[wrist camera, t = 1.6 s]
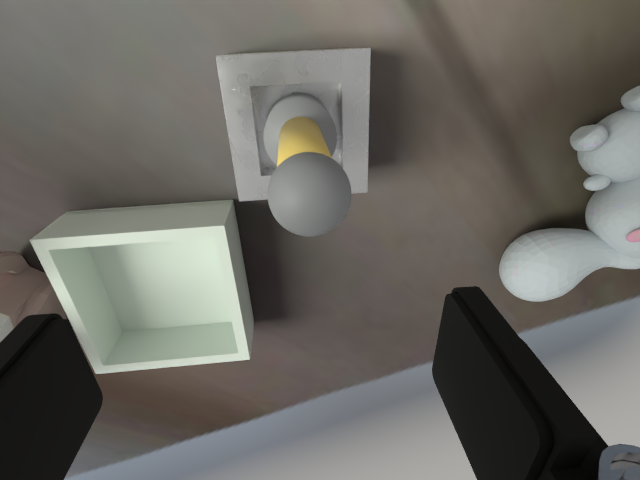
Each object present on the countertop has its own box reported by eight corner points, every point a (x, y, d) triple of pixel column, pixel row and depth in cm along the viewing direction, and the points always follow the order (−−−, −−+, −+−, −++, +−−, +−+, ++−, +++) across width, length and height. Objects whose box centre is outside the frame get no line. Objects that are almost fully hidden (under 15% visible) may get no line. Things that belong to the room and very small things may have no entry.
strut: (262, 94, 26) (235, 150, 12) (329, 90, 26) (379, 141, 12) (270, 160, 28) (254, 271, 14) (331, 156, 28) (375, 261, 14)
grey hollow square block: (227, 53, 28) (215, 55, 23) (356, 47, 28) (370, 48, 23) (246, 177, 32) (239, 201, 28) (355, 170, 33) (367, 192, 28)
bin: (67, 211, 33) (29, 240, 28) (233, 199, 33) (224, 225, 29) (118, 334, 40) (96, 374, 35) (254, 322, 41) (250, 359, 36)
